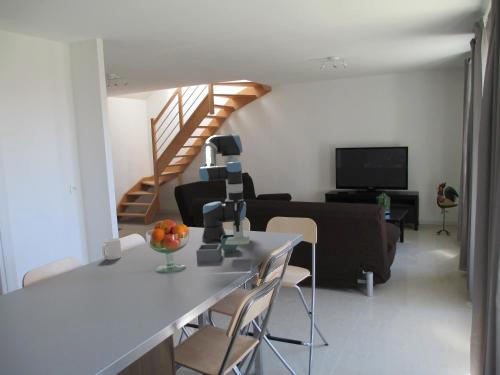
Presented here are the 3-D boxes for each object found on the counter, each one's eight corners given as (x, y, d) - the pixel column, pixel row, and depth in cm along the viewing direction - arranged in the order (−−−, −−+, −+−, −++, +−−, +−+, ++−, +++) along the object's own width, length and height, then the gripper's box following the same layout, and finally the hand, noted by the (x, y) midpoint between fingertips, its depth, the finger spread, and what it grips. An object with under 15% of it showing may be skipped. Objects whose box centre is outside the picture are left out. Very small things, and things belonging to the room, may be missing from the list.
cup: (124, 256, 228) (123, 238, 227) (109, 262, 218) (107, 243, 217) (113, 255, 232) (111, 237, 231) (97, 261, 221) (95, 242, 220)
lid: (228, 240, 214) (226, 222, 214) (250, 239, 214) (249, 221, 213) (225, 246, 202) (224, 227, 201) (248, 245, 201) (247, 225, 200)
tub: (201, 257, 216) (200, 244, 215) (222, 256, 215) (221, 243, 215) (197, 264, 204) (196, 250, 203) (219, 263, 204) (218, 249, 203)
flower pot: (238, 254, 219) (237, 237, 218) (221, 255, 219) (220, 238, 218) (238, 250, 227) (237, 234, 226) (223, 250, 228) (222, 235, 227)
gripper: (229, 190, 218) (232, 234, 220) (226, 194, 203) (229, 240, 205) (243, 190, 217) (246, 233, 220) (241, 193, 202) (244, 240, 205)
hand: (238, 236), depth 212 cm, fingers closed on lid, 2 cm apart
